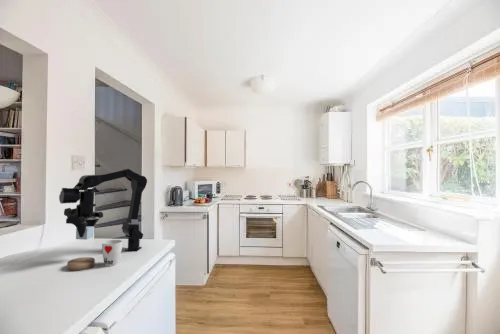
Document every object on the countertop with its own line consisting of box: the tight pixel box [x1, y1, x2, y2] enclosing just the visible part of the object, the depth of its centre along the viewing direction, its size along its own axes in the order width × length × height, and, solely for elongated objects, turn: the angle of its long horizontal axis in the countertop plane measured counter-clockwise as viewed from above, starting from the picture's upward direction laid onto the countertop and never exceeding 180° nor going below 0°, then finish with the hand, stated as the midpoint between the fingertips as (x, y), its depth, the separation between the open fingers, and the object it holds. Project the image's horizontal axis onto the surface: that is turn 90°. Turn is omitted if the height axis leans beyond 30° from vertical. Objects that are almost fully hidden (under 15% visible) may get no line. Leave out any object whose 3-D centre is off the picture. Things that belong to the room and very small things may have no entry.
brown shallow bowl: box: [66, 256, 96, 272], centre depth 113 cm, size 10×10×2 cm
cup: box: [101, 239, 123, 267], centre depth 118 cm, size 8×8×10 cm
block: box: [75, 226, 95, 240], centre depth 122 cm, size 5×5×5 cm
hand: (84, 235), depth 122 cm, fingers closed on block, 5 cm apart
